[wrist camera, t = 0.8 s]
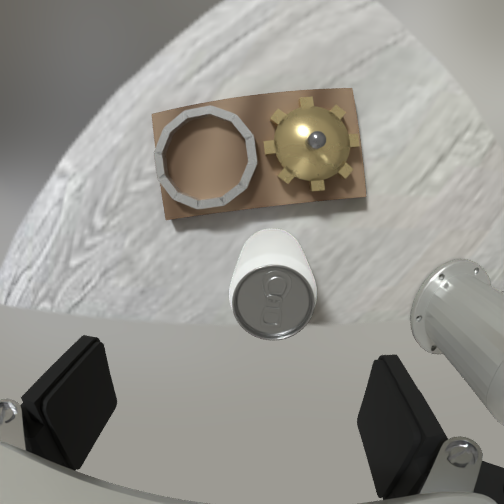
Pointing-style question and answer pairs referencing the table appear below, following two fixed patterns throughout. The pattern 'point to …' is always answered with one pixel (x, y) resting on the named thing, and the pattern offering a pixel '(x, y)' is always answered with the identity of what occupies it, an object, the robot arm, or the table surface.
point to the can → (272, 286)
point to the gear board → (235, 156)
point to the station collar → (166, 139)
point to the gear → (311, 143)
